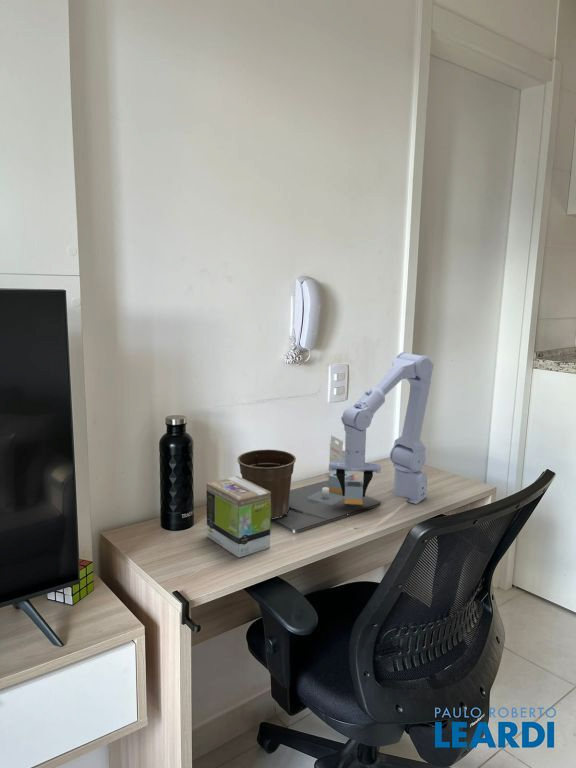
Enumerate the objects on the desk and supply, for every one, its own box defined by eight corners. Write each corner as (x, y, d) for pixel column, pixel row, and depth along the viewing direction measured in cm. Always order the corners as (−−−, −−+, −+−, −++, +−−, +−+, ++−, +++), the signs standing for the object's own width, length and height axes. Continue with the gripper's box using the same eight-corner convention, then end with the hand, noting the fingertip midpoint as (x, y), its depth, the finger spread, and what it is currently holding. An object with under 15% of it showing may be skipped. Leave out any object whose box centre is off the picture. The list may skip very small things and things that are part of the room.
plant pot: (247, 528, 154) (247, 470, 151) (230, 505, 169) (230, 452, 166) (303, 519, 160) (305, 463, 157) (282, 498, 175) (283, 447, 172)
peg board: (357, 494, 179) (358, 481, 178) (331, 509, 167) (332, 495, 166) (332, 487, 184) (333, 474, 183) (306, 501, 172) (306, 488, 171)
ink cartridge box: (354, 483, 188) (356, 439, 186) (341, 485, 186) (342, 441, 183) (341, 475, 196) (342, 433, 193) (328, 477, 194) (329, 434, 191)
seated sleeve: (350, 489, 179) (351, 474, 178) (342, 494, 175) (342, 478, 174) (336, 486, 182) (337, 471, 181) (328, 490, 178) (328, 475, 177)
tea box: (271, 547, 143) (272, 491, 140) (237, 559, 137) (237, 500, 134) (237, 526, 154) (238, 474, 152) (205, 536, 148) (204, 481, 146)
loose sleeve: (362, 497, 167) (362, 481, 167) (362, 504, 163) (362, 487, 162) (344, 496, 168) (345, 480, 167) (344, 503, 163) (345, 486, 162)
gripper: (328, 452, 159) (327, 499, 162) (381, 455, 158) (379, 501, 160) (329, 445, 166) (328, 489, 169) (380, 447, 165) (378, 492, 167)
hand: (353, 495), depth 165 cm, fingers closed on loose sleeve, 5 cm apart
